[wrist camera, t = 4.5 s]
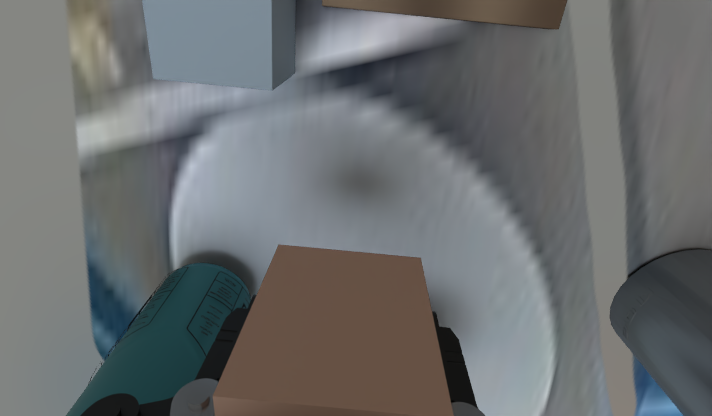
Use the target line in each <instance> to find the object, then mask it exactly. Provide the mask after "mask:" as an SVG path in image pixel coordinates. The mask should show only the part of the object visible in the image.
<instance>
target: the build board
mask: <svg viewBox="0 0 712 416" xmlns="http://www.w3.org/2000/svg"><path fill="white" fill-rule="evenodd" d="M566 3H567V0H322V6H326V7H336V8H346V9H356V10H366V11H376V12H385V13H395V14H405V15H415V16H425V17H435V18H445V19H455V20H464V21H474V22H484V23H494V24H504V25H514V26H524V27H533V28H543V29H559V26H560V23H561V20H562V16H563V13H564V10H565V6H566Z"/></svg>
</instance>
